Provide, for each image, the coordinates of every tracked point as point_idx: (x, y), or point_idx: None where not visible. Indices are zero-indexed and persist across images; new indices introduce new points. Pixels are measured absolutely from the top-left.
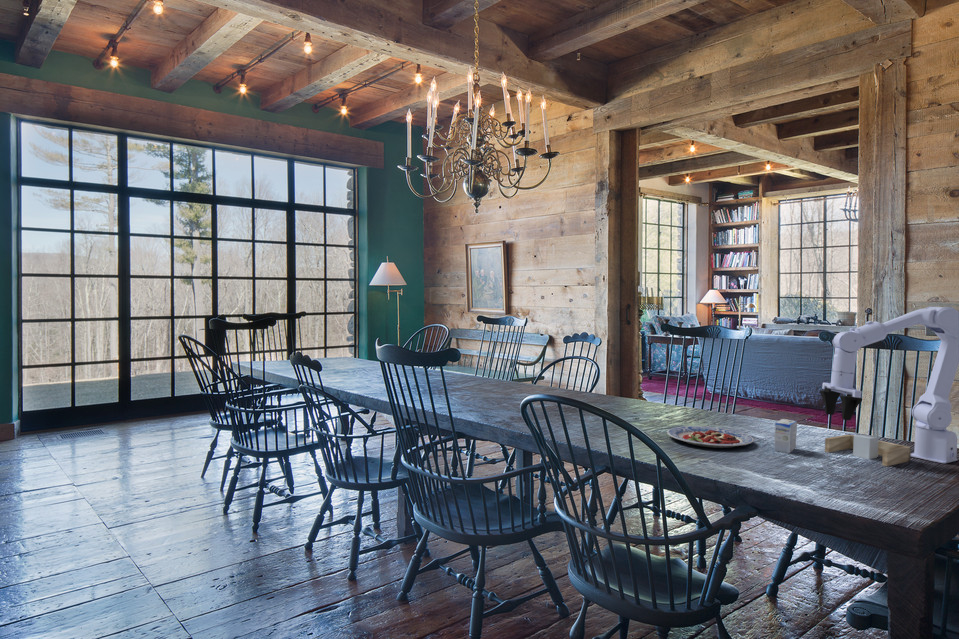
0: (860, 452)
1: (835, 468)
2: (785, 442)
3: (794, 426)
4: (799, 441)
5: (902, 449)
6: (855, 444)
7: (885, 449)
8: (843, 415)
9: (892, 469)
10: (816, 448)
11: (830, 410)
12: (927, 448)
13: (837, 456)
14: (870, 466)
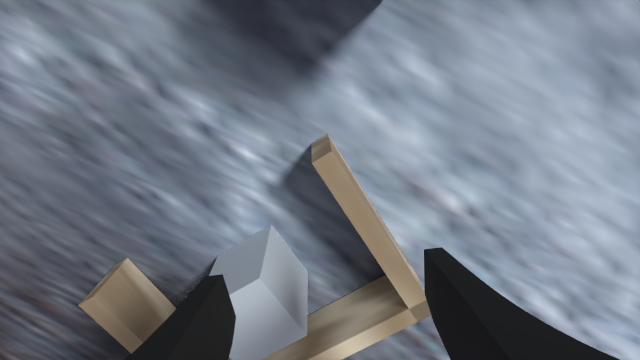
0: (242, 249)
1: None
2: None
3: None
4: (535, 106)
5: None
6: (258, 256)
7: (274, 353)
8: (190, 295)
9: (69, 262)
10: (390, 123)
11: (435, 297)
12: None
13: (242, 148)
14: (90, 203)
